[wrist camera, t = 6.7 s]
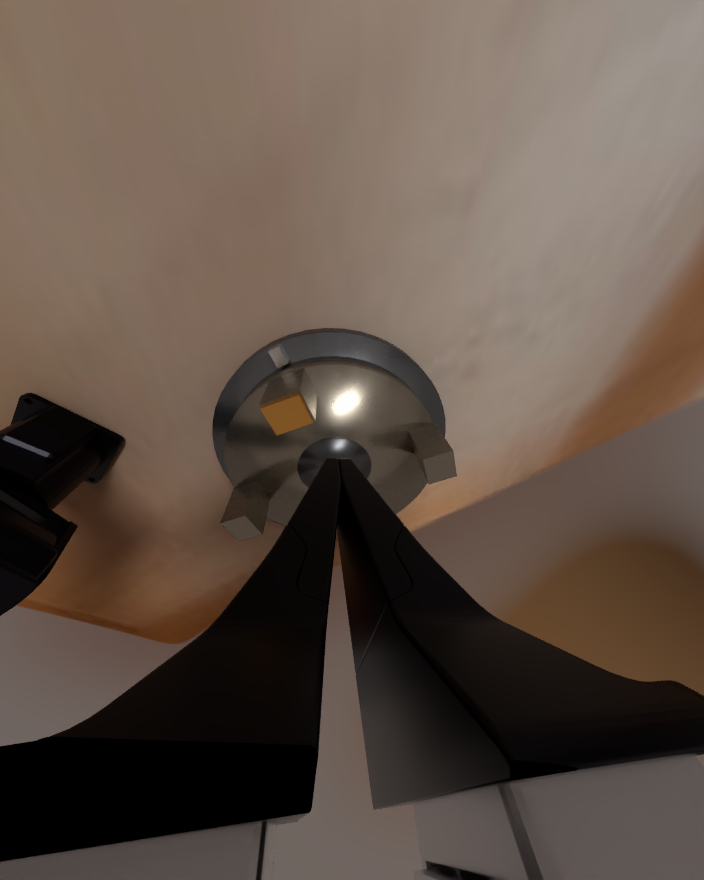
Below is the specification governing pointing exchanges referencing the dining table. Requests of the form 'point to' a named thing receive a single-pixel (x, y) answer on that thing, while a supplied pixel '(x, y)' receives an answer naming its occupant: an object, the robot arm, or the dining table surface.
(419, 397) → the base plate
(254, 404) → the round fixture plate
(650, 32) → the dining table surface
